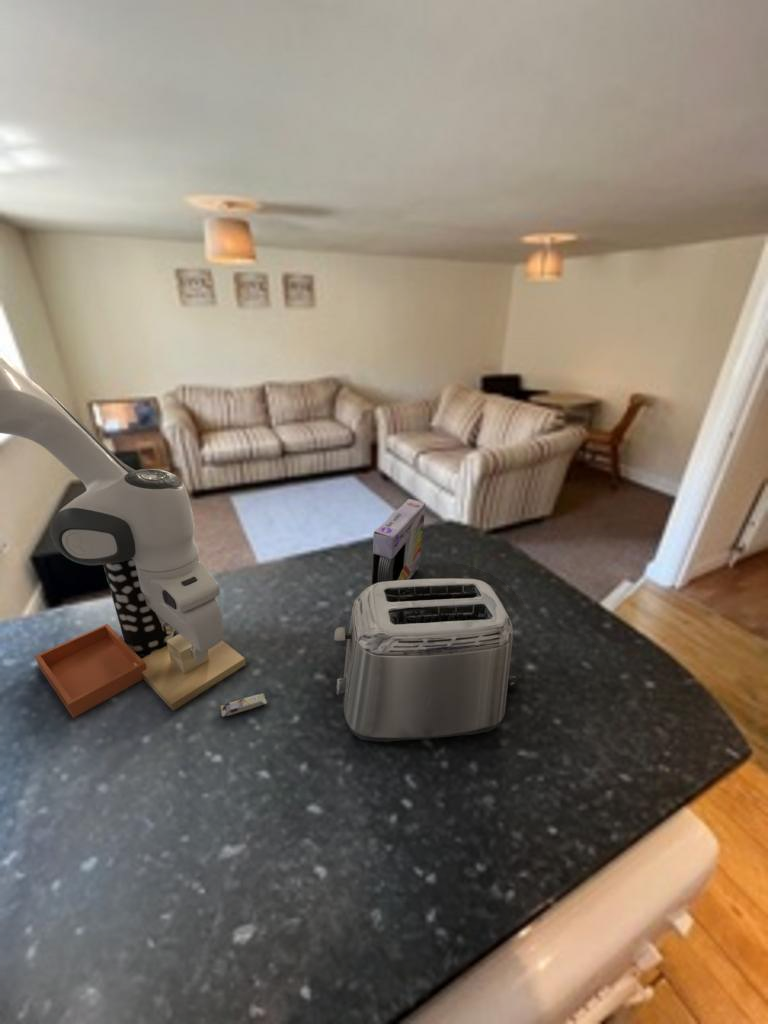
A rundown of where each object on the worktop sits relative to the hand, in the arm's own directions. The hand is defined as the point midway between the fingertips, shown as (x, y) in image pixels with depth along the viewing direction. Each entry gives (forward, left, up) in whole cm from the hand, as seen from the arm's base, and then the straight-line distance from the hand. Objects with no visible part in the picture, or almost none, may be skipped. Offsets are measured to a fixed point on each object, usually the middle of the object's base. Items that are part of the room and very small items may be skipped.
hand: (184, 643), depth 75 cm
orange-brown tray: (-11, -11, -5) cm, 16 cm away
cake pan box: (+11, +43, -5) cm, 45 cm away
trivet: (0, 0, -5) cm, 5 cm away
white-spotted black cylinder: (-11, -1, -5) cm, 13 cm away
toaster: (+35, +21, -5) cm, 42 cm away
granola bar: (+14, +1, -5) cm, 15 cm away
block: (0, 0, -4) cm, 4 cm away
